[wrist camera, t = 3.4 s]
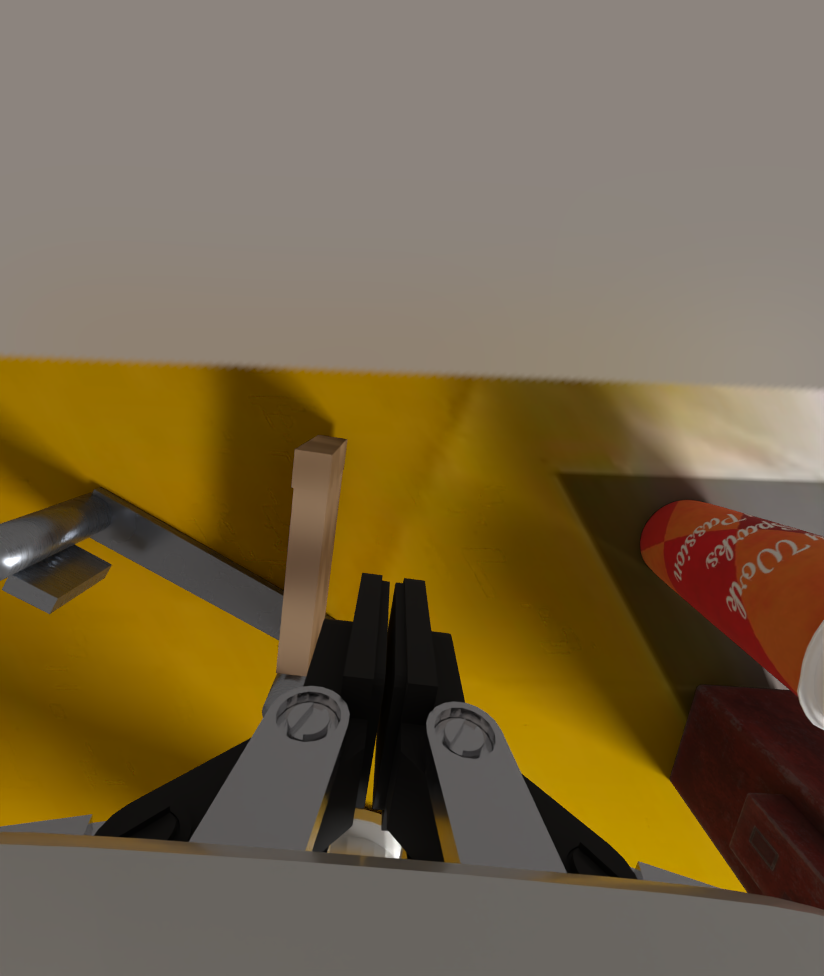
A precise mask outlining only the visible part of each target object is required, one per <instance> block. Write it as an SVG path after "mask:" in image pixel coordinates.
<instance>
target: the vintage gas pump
mask: <svg viewBox="0 0 824 976" xmlns="http://www.w3.org/2000/svg"><path fill="white" fill-rule="evenodd" d="M670 781H671V783H672V784H673V786H674V787H675V788H676V790H677V791H678V793H679V794H680V796H681V797H682V799H683V800H684V801H685V803H686V804H687V806H688V807H689V809H690V810H691V812H692V813H693V814H694V816H695V817H696V819H697V820H698V822H699V823H700V825H701V826H702V828H703V829H704V830H705V832H706V833H707V835H708V836H709V838H710V839H711V841H712V842H713V843H714V845H715V846H716V848H717V849H718V851H719V852H720V854H721V855H722V856H723V858H724V859H725V861H726V862H727V864H728V865H729V867H730V868H731V869H732V871H733V872H734V874H735V875H736V877H737V878H738V880H739V881H740V883H741V884H742V885H743V887H744V888H745V890H746V891H747V893H750V894H757V895H763V896H770V897H775V898H779V899H784V900H788V901H792V902H796V903H800V904H804V905H808V906H812V907H816V908H819V909H822V910H824V730H823V729H821V728H819V727H817V726H815V725H813V724H812V723H811V721H810V720H809V719H808V717H807V716H806V715H805V713H804V711H803V709H802V707H801V705H800V702H799V697H798V696H796V695H795V694H794V693H793V692H792V691H791V690H780V689H764V688H748V687H732V686H716V685H699V686H698V687H697V689H696V692H695V696H694V699H693V702H692V706H691V709H690V712H689V716H688V719H687V722H686V726H685V729H684V732H683V736H682V739H681V743H680V746H679V749H678V753H677V756H676V759H675V763H674V766H673V769H672V773H671V776H670Z"/></svg>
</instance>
